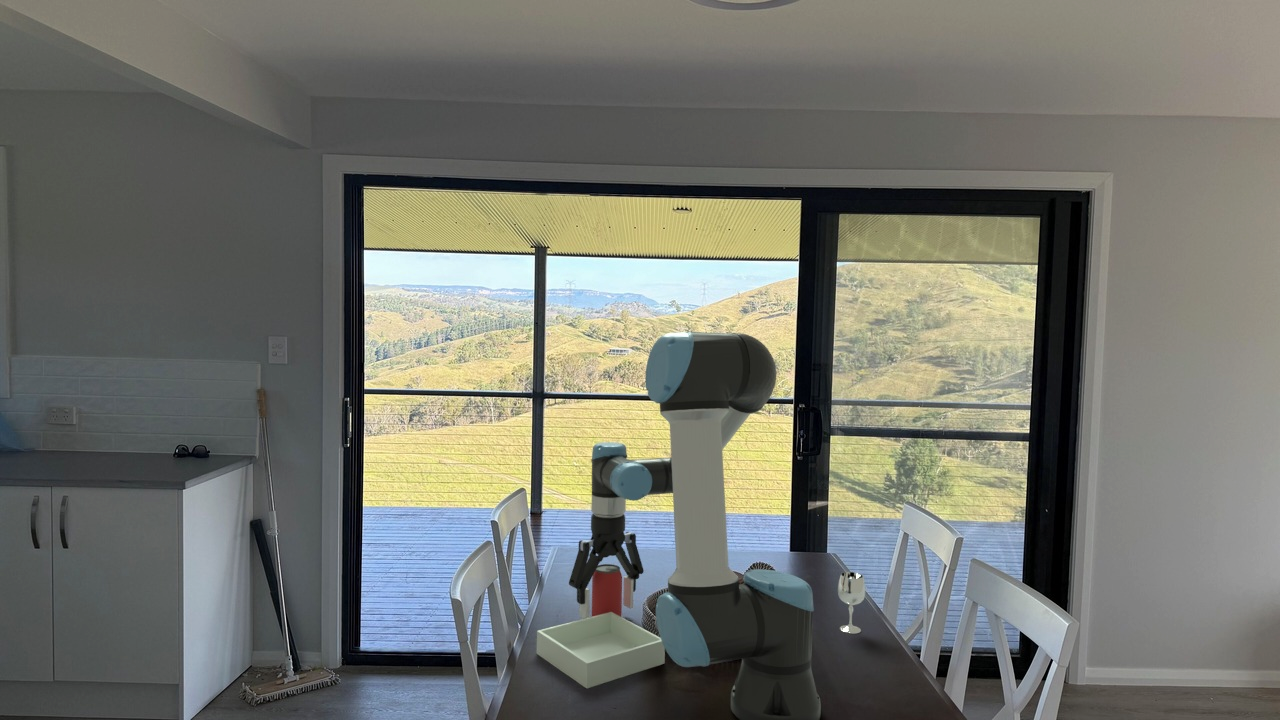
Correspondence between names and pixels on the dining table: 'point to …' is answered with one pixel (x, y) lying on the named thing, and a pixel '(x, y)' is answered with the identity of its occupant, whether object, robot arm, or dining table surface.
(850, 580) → the wineglass
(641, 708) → the dining table surface
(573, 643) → the bin
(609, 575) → the beer can
